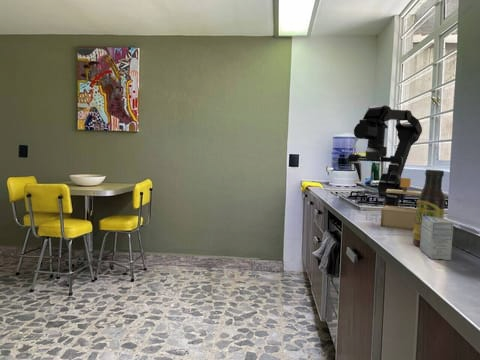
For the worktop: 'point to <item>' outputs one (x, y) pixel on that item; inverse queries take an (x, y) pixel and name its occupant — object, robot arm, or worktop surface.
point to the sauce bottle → (429, 201)
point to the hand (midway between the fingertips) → (373, 182)
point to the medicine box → (436, 237)
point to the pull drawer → (404, 188)
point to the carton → (398, 217)
